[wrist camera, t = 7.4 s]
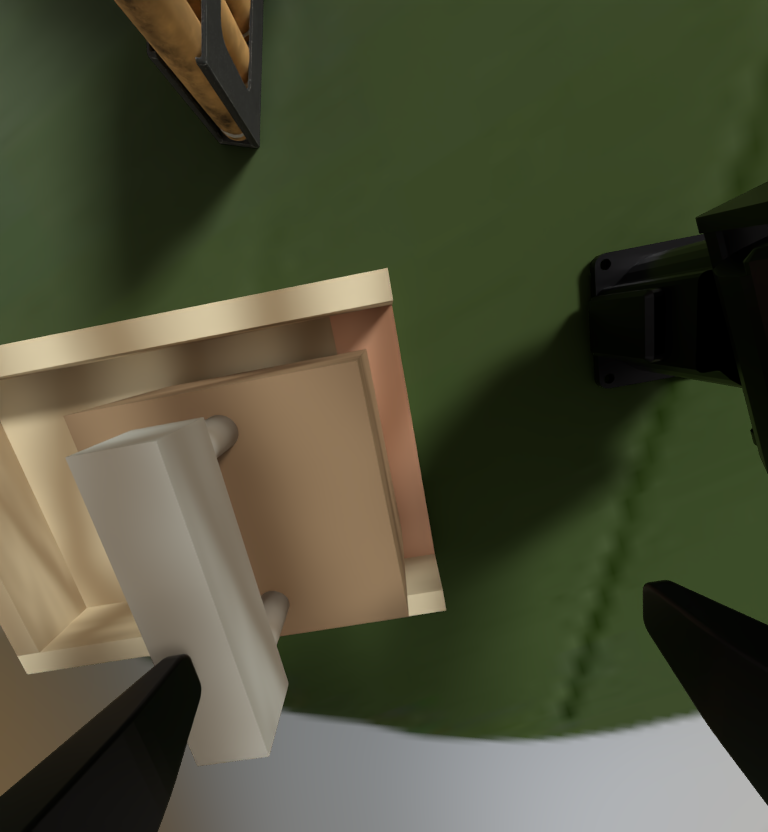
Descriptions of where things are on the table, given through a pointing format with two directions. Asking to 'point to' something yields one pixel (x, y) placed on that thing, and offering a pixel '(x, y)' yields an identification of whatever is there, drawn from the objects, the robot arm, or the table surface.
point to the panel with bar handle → (245, 526)
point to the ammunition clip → (208, 59)
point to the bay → (147, 371)
